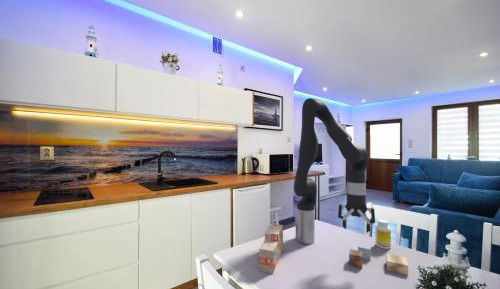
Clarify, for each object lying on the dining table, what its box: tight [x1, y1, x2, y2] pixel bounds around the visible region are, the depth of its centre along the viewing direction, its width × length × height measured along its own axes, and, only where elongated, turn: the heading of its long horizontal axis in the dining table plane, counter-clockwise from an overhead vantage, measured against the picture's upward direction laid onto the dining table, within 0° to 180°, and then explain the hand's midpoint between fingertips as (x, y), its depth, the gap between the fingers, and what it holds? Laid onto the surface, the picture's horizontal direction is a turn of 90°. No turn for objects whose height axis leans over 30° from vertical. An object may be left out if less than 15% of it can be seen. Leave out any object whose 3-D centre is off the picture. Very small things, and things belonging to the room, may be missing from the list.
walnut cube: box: [348, 248, 364, 270], centre depth 93 cm, size 5×5×5 cm
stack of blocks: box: [258, 223, 284, 274], centre depth 97 cm, size 21×6×12 cm, turn 161°
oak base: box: [385, 253, 409, 276], centre depth 90 cm, size 7×7×4 cm
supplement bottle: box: [374, 219, 392, 250], centre depth 109 cm, size 7×7×13 cm
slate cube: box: [357, 242, 372, 261], centre depth 99 cm, size 5×5×5 cm
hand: (356, 230), depth 93 cm, fingers open, 8 cm apart
